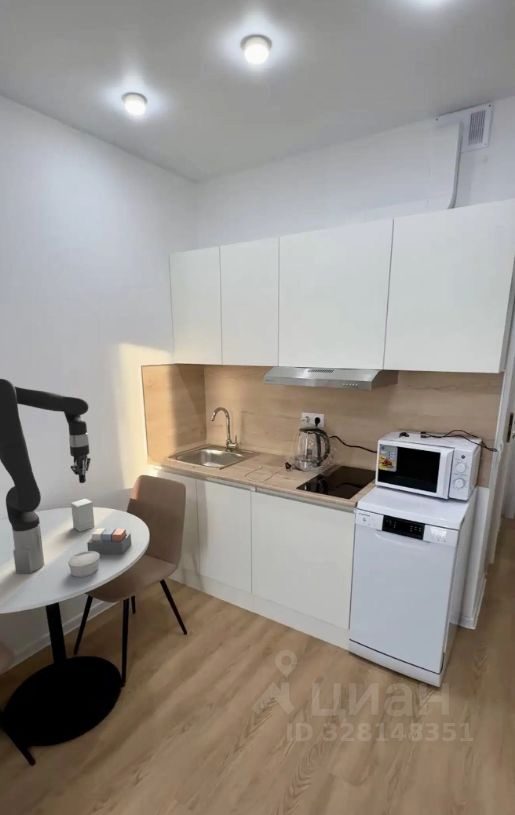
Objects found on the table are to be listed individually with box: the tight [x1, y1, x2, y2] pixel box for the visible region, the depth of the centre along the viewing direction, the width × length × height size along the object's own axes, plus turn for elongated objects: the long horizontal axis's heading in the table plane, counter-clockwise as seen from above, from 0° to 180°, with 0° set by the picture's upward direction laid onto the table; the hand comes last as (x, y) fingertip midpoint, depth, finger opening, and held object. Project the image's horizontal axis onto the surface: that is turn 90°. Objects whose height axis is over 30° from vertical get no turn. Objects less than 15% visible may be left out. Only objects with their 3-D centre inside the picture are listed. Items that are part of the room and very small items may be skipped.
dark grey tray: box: [86, 532, 132, 555], centre depth 166 cm, size 9×15×5 cm, turn 86°
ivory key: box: [91, 527, 107, 541], centre depth 166 cm, size 5×4×5 cm
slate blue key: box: [102, 528, 117, 541], centre depth 166 cm, size 5×4×5 cm
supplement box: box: [70, 498, 95, 532], centre depth 186 cm, size 7×7×13 cm
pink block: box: [112, 528, 127, 541], centre depth 166 cm, size 5×4×5 cm
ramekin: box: [67, 550, 101, 578], centre depth 151 cm, size 11×11×5 cm
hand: (82, 482), depth 170 cm, fingers closed
